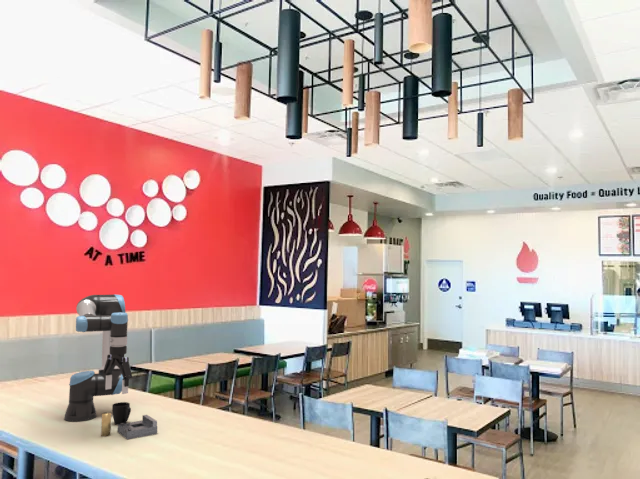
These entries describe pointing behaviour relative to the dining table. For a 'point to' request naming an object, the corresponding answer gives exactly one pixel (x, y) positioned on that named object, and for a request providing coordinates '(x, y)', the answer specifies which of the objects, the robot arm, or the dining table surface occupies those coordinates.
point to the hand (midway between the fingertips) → (116, 391)
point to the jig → (138, 428)
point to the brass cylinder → (106, 424)
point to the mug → (121, 412)
